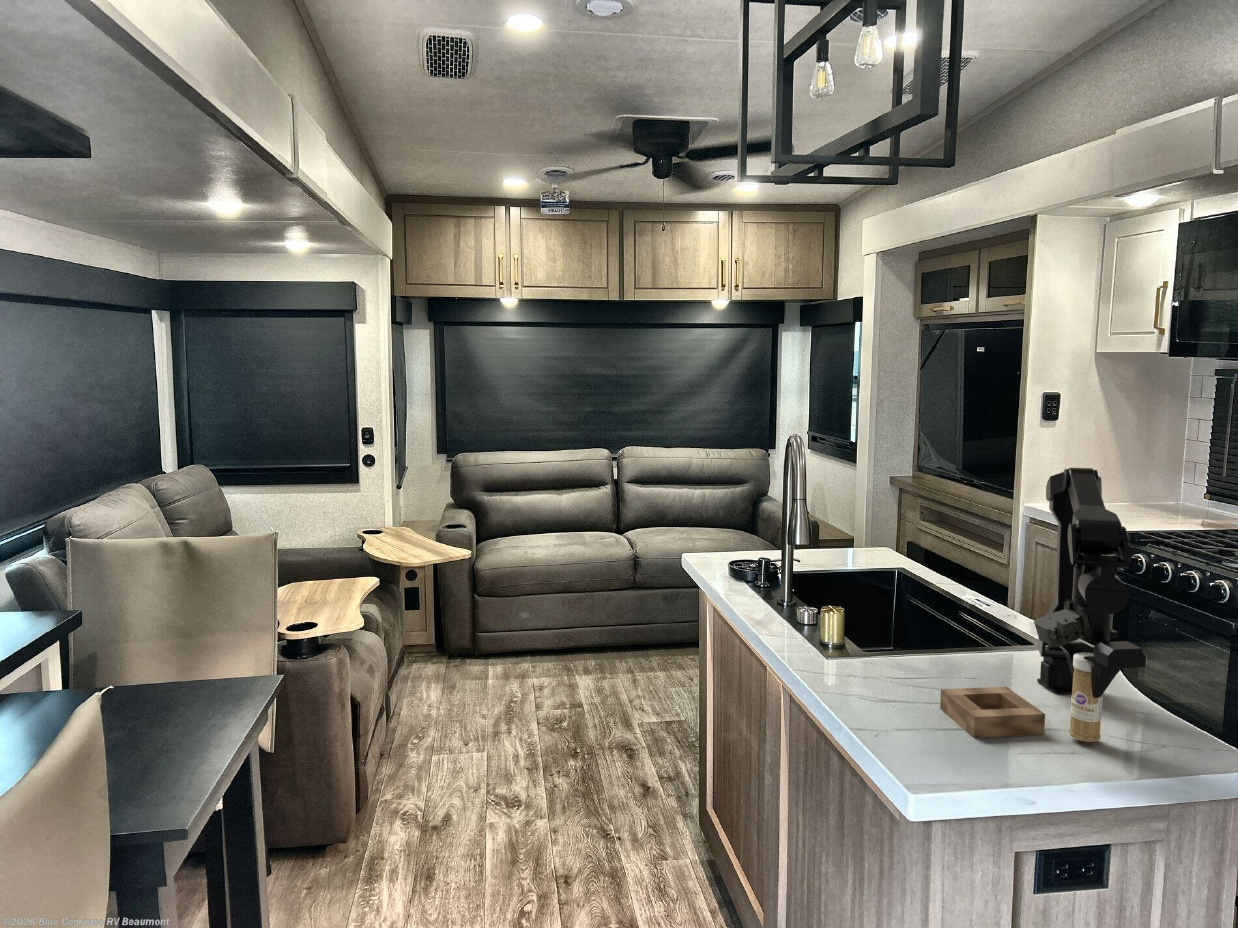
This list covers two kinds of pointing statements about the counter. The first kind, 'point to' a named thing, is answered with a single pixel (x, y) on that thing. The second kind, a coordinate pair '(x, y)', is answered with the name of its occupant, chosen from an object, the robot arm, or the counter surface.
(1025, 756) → the counter surface
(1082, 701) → the sprinkles bottle
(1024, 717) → the socket block
